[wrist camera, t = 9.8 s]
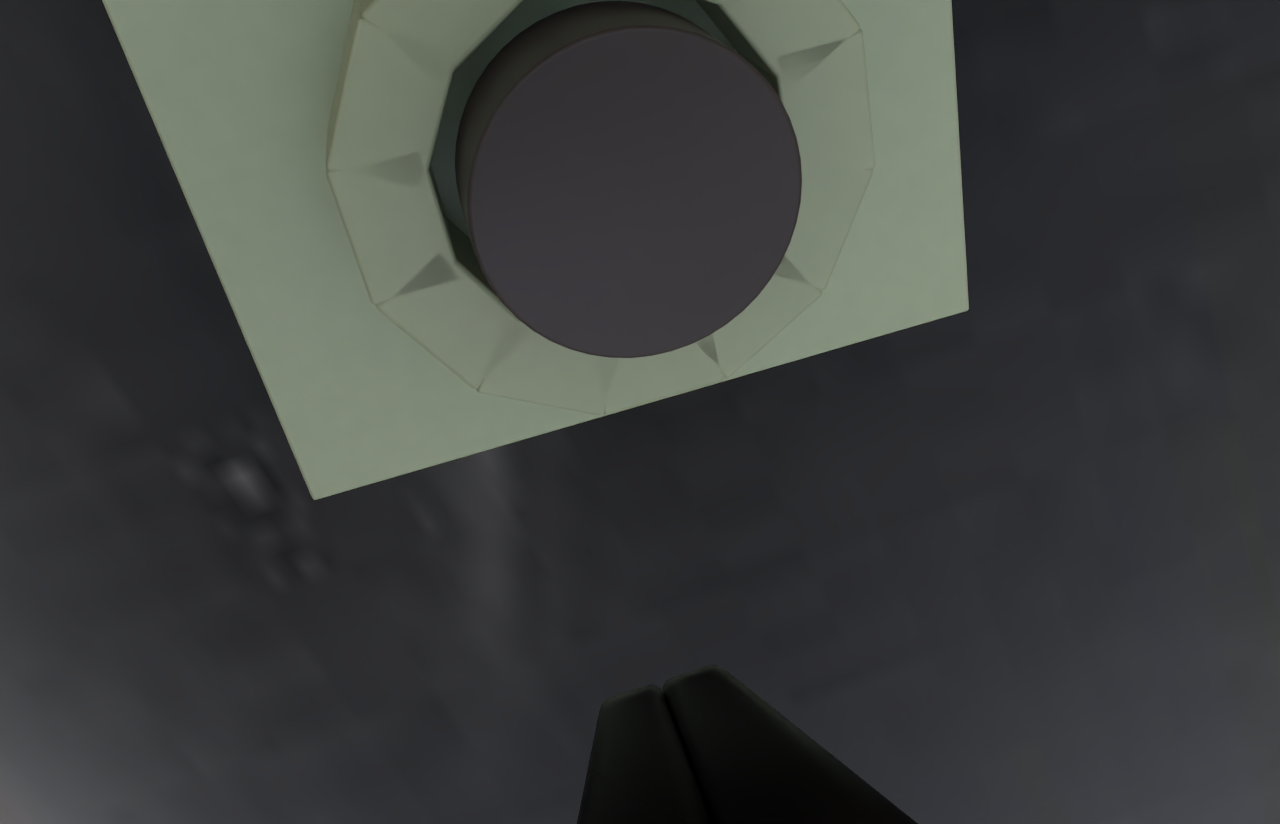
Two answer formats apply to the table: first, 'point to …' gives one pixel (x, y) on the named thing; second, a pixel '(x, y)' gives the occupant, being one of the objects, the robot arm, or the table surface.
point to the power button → (626, 179)
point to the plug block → (437, 231)
